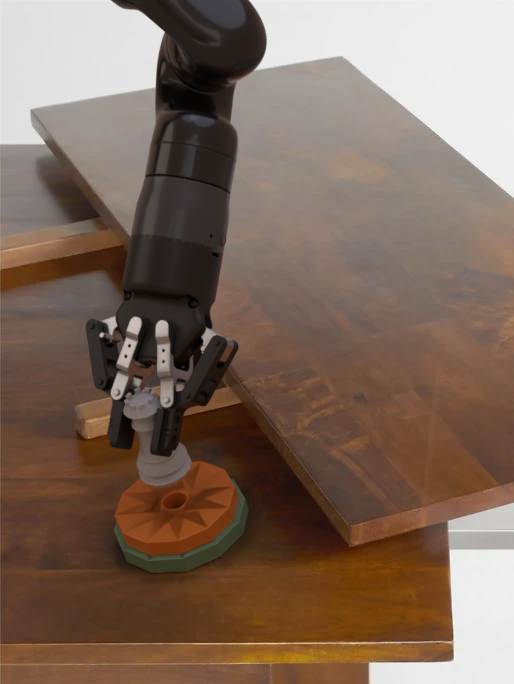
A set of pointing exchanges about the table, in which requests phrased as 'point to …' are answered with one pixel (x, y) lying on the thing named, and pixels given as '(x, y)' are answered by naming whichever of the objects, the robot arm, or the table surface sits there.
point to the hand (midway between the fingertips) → (140, 451)
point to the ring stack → (181, 520)
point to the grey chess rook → (150, 466)
